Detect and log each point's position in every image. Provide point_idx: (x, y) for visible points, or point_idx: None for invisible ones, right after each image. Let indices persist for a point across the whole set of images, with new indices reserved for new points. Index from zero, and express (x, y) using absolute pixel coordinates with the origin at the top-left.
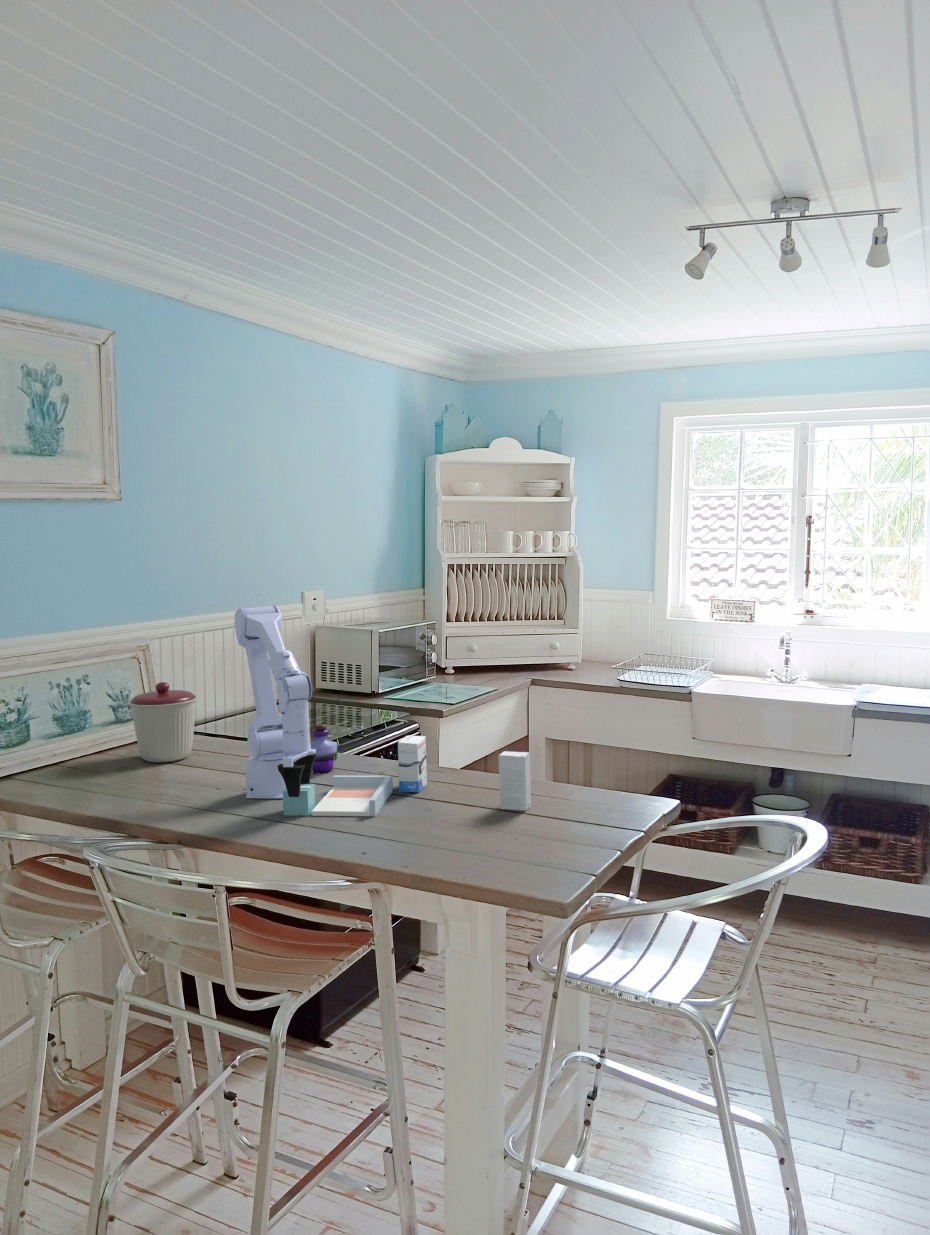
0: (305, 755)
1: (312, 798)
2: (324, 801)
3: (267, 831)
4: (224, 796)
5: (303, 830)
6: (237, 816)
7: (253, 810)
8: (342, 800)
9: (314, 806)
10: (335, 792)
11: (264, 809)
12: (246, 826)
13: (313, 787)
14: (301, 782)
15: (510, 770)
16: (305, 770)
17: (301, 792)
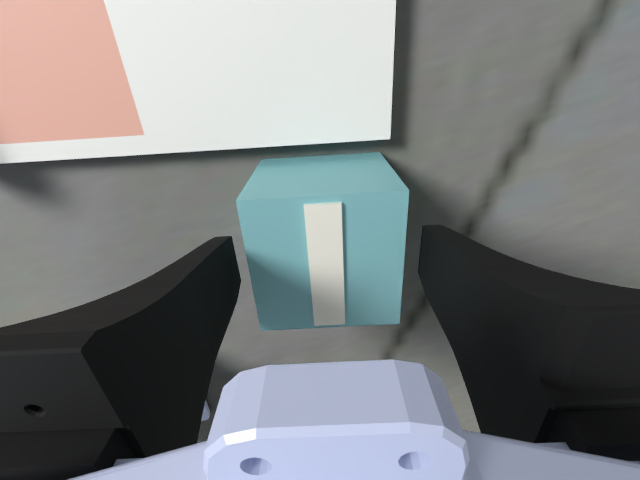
0: (533, 451)
1: (301, 172)
2: (215, 126)
3: (579, 244)
4: None
5: (613, 96)
6: None
7: (323, 360)
8: (169, 14)
9: (274, 161)
10: (38, 119)
11: (308, 335)
12: None
13: (261, 193)
14: (231, 284)
15: None
16: (195, 313)
17: (405, 224)
